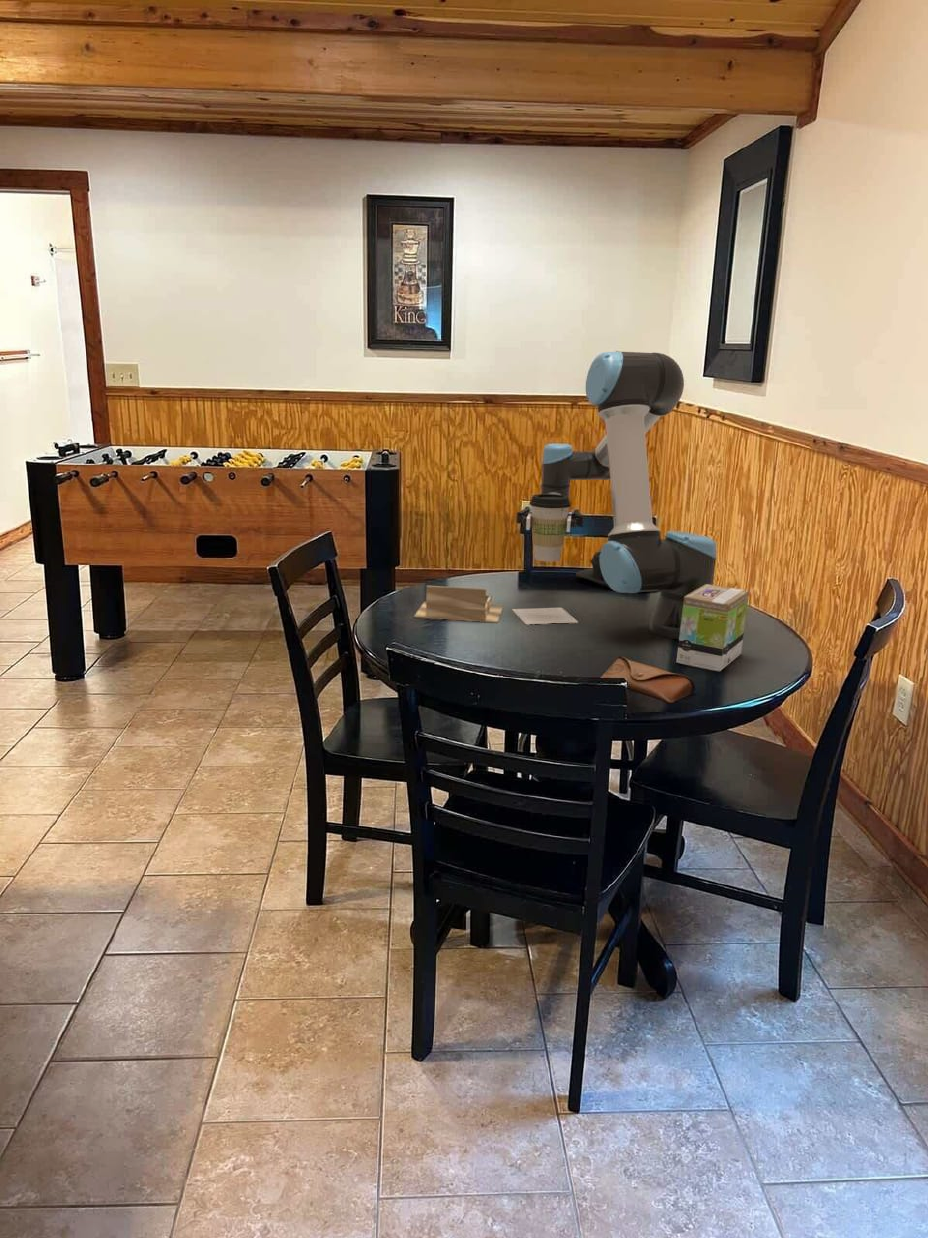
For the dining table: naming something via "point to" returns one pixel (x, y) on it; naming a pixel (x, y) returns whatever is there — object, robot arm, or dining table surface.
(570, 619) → the mat
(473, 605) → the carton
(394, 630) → the dining table surface
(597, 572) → the black brimmed hat
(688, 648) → the tea box
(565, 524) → the coffee cup
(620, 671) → the sunglasses case
